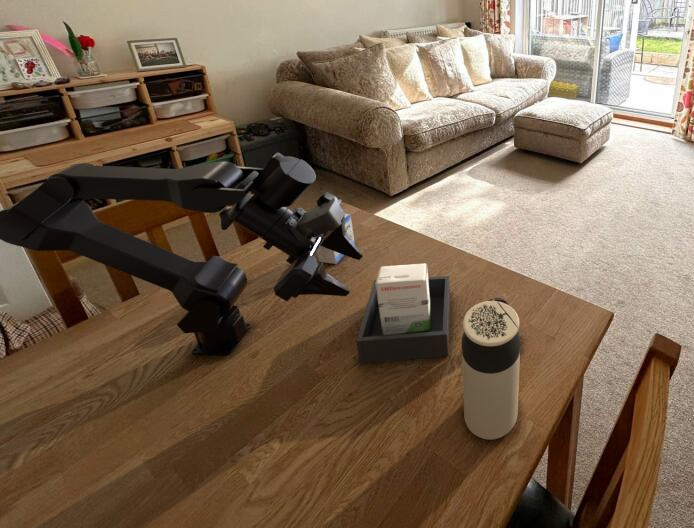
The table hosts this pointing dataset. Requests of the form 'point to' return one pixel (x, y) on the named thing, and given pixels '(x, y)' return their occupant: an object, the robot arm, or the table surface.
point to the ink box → (404, 299)
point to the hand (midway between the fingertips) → (355, 274)
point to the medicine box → (331, 255)
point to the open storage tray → (407, 344)
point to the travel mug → (490, 369)
